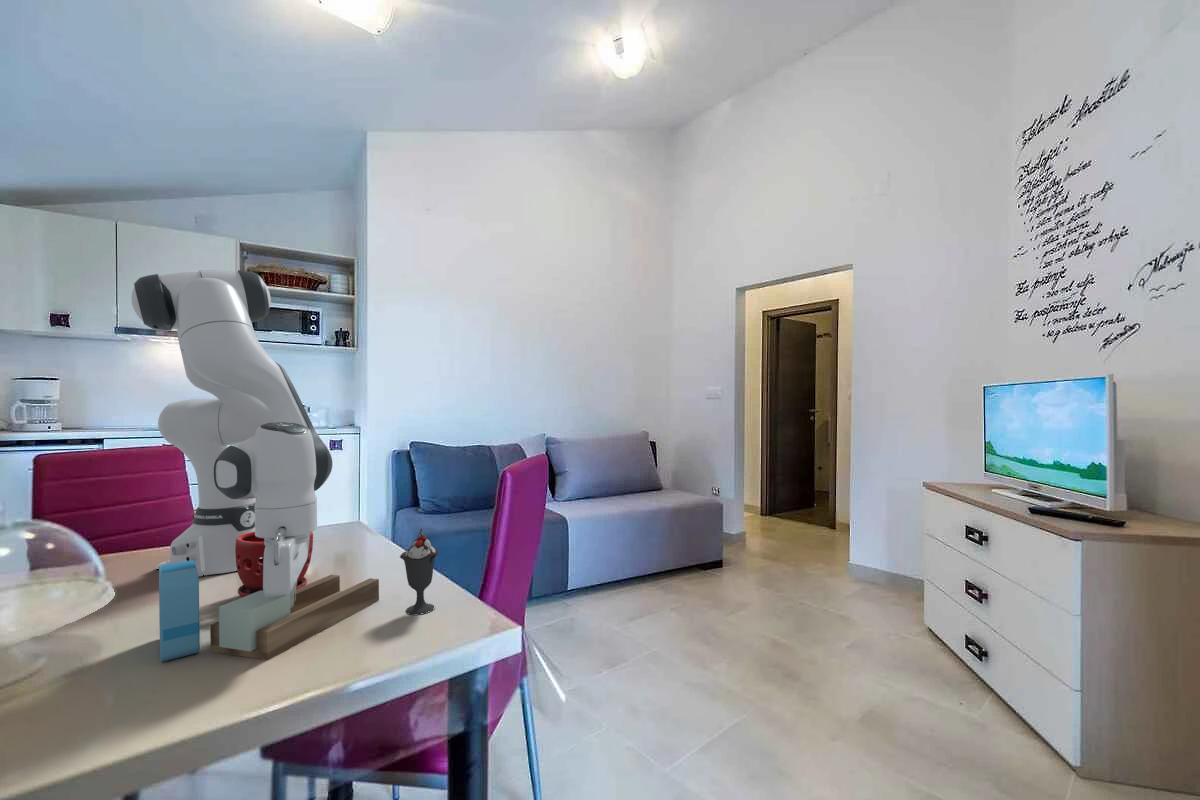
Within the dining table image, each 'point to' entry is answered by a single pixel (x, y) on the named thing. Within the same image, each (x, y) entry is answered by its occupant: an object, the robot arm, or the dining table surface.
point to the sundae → (419, 571)
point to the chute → (307, 616)
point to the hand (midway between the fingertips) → (288, 605)
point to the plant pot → (258, 563)
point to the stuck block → (249, 619)
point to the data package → (179, 610)
